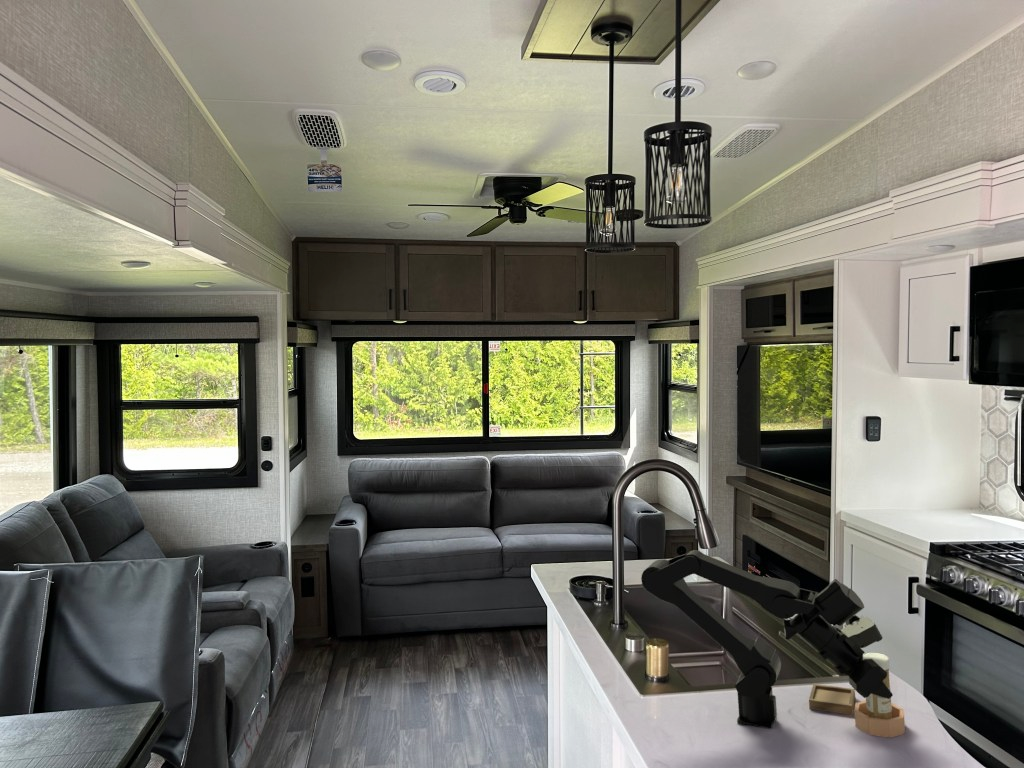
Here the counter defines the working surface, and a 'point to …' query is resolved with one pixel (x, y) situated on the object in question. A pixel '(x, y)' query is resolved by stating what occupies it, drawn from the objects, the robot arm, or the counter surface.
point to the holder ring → (880, 721)
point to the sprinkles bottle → (875, 703)
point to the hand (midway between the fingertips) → (885, 691)
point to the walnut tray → (832, 699)
